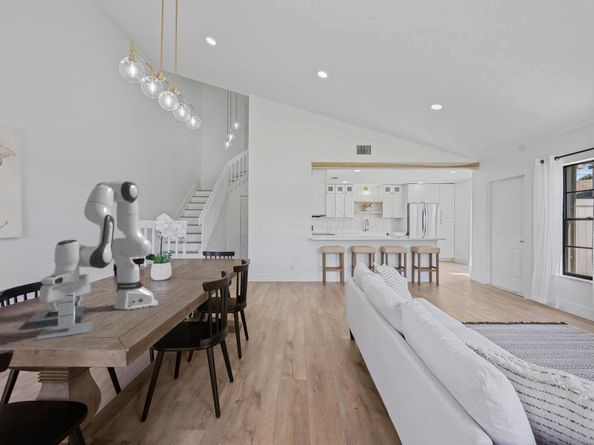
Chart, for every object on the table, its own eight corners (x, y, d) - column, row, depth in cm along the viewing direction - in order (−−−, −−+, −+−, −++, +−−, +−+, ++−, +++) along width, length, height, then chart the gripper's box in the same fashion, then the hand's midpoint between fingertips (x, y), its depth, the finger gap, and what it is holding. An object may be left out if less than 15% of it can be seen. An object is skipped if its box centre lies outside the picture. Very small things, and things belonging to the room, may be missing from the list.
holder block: (85, 311, 164) (85, 306, 164) (80, 322, 146) (80, 316, 146) (37, 317, 154) (37, 311, 154) (26, 329, 136) (26, 322, 136)
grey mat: (92, 322, 146) (92, 321, 146) (89, 332, 132) (89, 332, 132) (44, 328, 137) (44, 327, 137) (35, 340, 123) (35, 339, 123)
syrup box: (74, 325, 134) (75, 292, 134) (57, 328, 130) (58, 294, 131) (74, 322, 138) (75, 290, 139) (58, 324, 135) (59, 291, 136)
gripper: (83, 273, 146) (83, 302, 145) (36, 280, 126) (36, 314, 126) (94, 273, 144) (93, 303, 144) (48, 281, 124) (47, 315, 124)
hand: (66, 308), depth 135 cm, fingers closed on syrup box, 8 cm apart
